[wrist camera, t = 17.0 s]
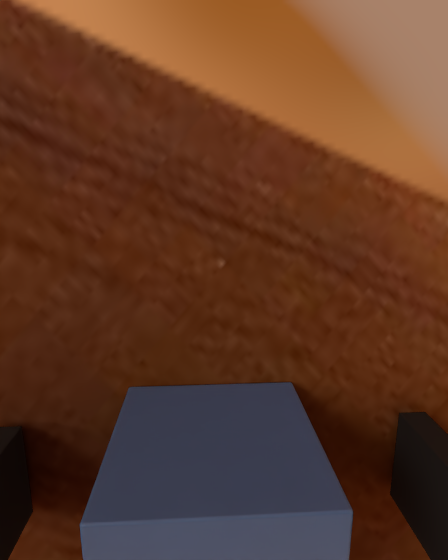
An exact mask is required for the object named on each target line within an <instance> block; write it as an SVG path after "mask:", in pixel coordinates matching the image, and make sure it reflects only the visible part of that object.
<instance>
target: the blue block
mask: <svg viewBox="0 0 448 560" xmlns="http://www.w3.org/2000/svg"><path fill="white" fill-rule="evenodd" d="M352 521H353V510H352V508H351V506H350V503H349V501H348V499H347V497H346V495H345V493H344V491H343V489H342V487H341V485H340V483H339V480H338V478H337V476H336V474H335V472H334V470H333V468H332V466H331V464H330V462H329V459H328V457H327V455H326V453H325V451H324V449H323V447H322V445H321V443H320V441H319V439H318V436H317V434H316V432H315V430H314V428H313V426H312V424H311V422H310V420H309V418H308V415H307V413H306V411H305V409H304V407H303V405H302V403H301V401H300V399H299V397H298V394H297V392H296V390H295V388H294V386H293V384H292V383H291V382H284V383H251V384H217V385H184V386H150V387H129V389H128V392H127V394H126V397H125V400H124V403H123V406H122V408H121V411H120V414H119V417H118V420H117V422H116V425H115V428H114V431H113V433H112V436H111V439H110V442H109V445H108V447H107V450H106V453H105V456H104V459H103V461H102V464H101V467H100V470H99V472H98V475H97V478H96V481H95V484H94V486H93V489H92V492H91V495H90V498H89V500H88V503H87V506H86V509H85V511H84V514H83V517H82V520H81V523H80V535H81V544H82V554H83V560H349V555H350V543H351V532H352Z"/></svg>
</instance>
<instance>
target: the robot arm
mask: <svg viewBox="0 0 448 560" xmlns="http://www.w3.org/2000/svg"><path fill="white" fill-rule="evenodd" d="M390 495H391V496H392V498H393V500H394V501H395V503H396V504H397V506H398V508H399V509H400V511H401V513H402V514H403V516H404V517H405V519H406V521H407V522H408V524H409V525H410V527H411V529H412V530H413V532H414V533H415V535H416V537H417V538H418V540H419V541H420V543H421V545H422V546H423V548H424V549H425V551H426V553H427V554H428V556H429V557H430V559H431V560H448V434H447V433H446V432H445V431H444V430H443V429H442V428H441V427H440V426H439V425H438V424H437V423H436V422H435V421H434V420H433V419H432V418H430V417H429V416H428V415H427V414H426V413H425V412H414V413H399V420H398V429H397V438H396V447H395V456H394V464H393V473H392V482H391V491H390ZM32 512H33V509H32V501H31V494H30V486H29V479H28V471H27V464H26V456H25V449H24V441H23V434H22V426H17V427H0V560H8V558H9V556H10V554H11V552H12V551H13V549H14V547H15V545H16V543H17V541H18V539H19V537H20V535H21V533H22V531H23V529H24V527H25V525H26V524H27V522H28V520H29V518H30V516H31V514H32Z"/></svg>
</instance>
